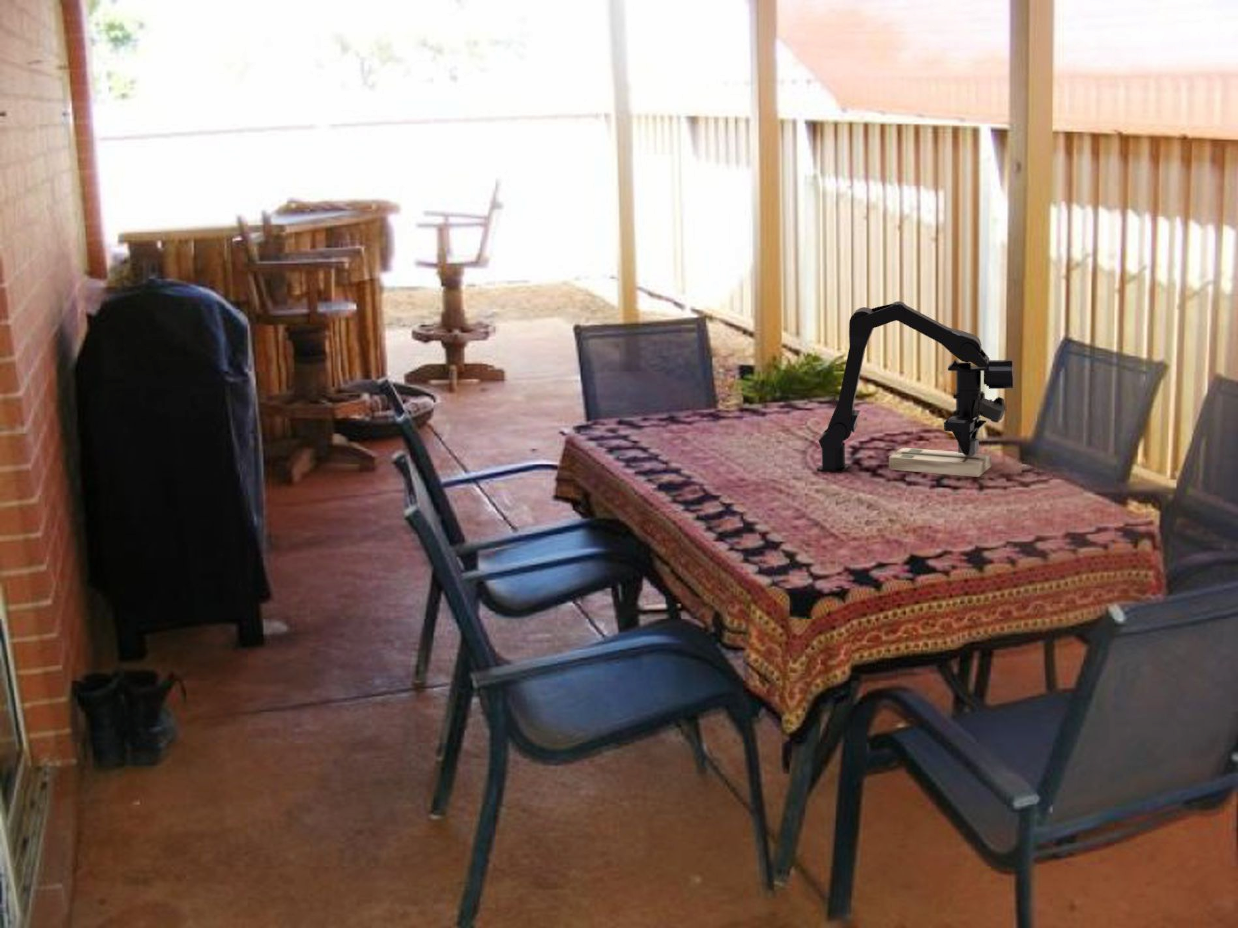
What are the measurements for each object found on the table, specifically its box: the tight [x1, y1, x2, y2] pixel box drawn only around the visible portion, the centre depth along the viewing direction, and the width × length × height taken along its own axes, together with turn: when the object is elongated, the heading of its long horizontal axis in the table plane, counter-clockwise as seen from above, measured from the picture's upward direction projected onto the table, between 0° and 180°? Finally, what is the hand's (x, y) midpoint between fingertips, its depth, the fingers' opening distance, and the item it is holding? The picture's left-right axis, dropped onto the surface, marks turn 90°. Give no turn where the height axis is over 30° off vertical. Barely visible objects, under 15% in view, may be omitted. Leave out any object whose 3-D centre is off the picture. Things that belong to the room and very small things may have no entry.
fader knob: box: [957, 438, 980, 457], centre depth 358 cm, size 3×4×4 cm
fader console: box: [888, 447, 992, 478], centre depth 363 cm, size 10×22×3 cm, turn 60°
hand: (968, 453), depth 358 cm, fingers closed on fader knob, 3 cm apart
